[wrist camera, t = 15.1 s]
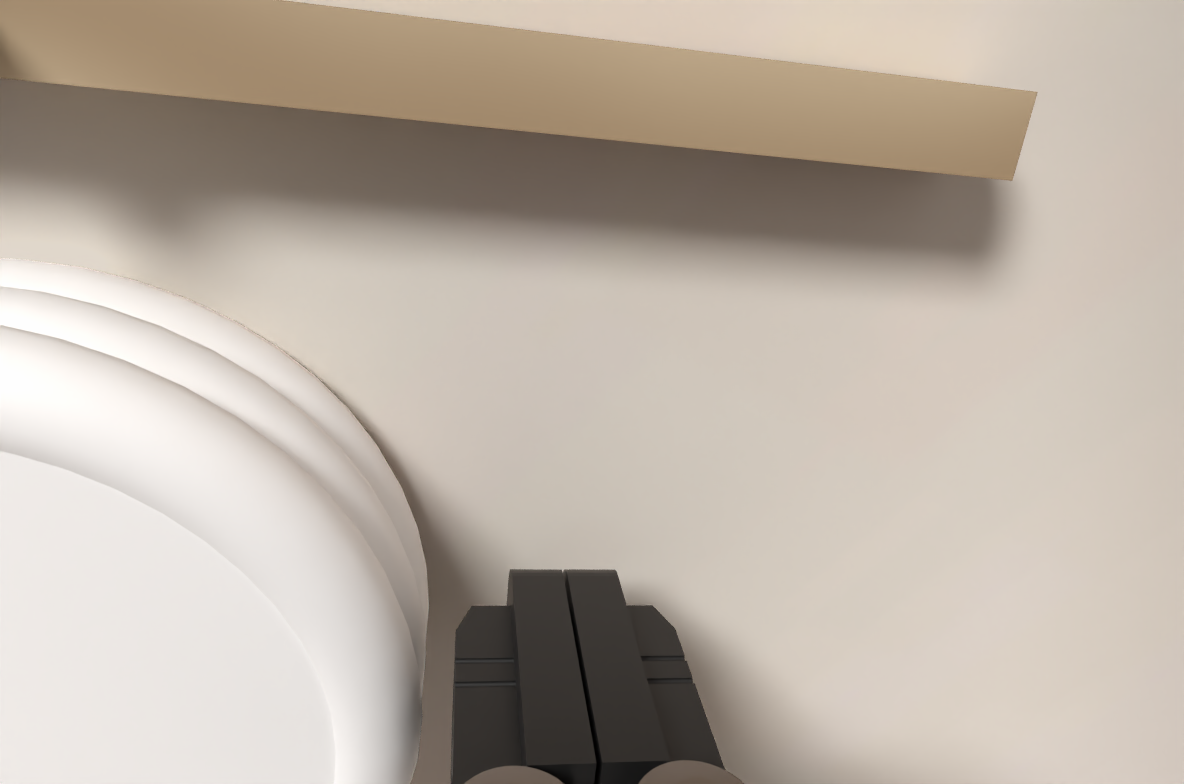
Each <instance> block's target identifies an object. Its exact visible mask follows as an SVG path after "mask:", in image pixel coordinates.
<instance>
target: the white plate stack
mask: <svg viewBox="0 0 1184 784" xmlns="http://www.w3.org/2000/svg"><path fill="white" fill-rule="evenodd" d="M428 613H429V597H428V580H427V567H426V562H425V558H424V553H423V549H422V544H421V540H420V535H419V531H418V527H417V525H416V522H415V519H414V517H413V514H412V512H411V509H410V507H409V504H408V502H407V499H406V497H405V494H404V492H403V489H402V487H401V486H400V484H399V482H398V480H397V479H396V477H395V475H394V473H393V472H392V470H391V468H390V467H389V465H388V463H387V461H386V460H385V458H384V456H383V455H382V453H381V451H380V450H379V448H378V446H377V444H376V443H375V442H374V441H373V439H372V438H371V437H370V435H369V434H368V433H367V432H366V430H365V429H364V428H363V426H362V425H361V424H360V423H359V421H358V420H357V419H356V417H355V416H354V415H353V414H352V412H351V411H350V410H349V409H348V408H347V407H346V406H345V405H344V404H343V403H342V402H341V401H340V400H339V399H338V398H337V397H336V396H335V395H334V394H333V393H332V392H331V391H330V390H329V389H328V388H327V387H326V386H325V385H324V384H323V383H322V382H321V381H320V380H319V379H318V378H317V377H316V376H315V375H313V374H312V373H311V372H309V371H308V370H307V369H306V368H304V367H303V366H302V365H300V364H299V363H298V362H297V361H295V360H294V359H293V358H292V357H290V356H289V355H288V354H286V353H285V352H284V351H283V350H281V349H280V348H279V347H277V346H275V345H274V344H272V343H271V342H269V341H267V340H266V339H264V338H262V337H261V336H259V335H257V334H256V333H254V332H253V331H251V330H249V329H248V328H246V327H244V326H243V325H241V324H239V323H238V322H236V321H234V320H232V319H230V318H228V317H226V316H224V315H222V314H219V313H217V312H215V311H213V310H211V309H209V308H207V307H205V306H203V305H200V304H198V303H196V302H194V301H192V300H190V299H188V298H185V297H182V296H179V295H176V294H174V293H171V292H168V291H165V290H163V289H160V288H157V287H154V286H151V285H149V284H146V283H143V282H140V281H138V280H134V279H129V278H125V277H121V276H117V275H113V274H109V273H105V272H101V271H97V270H93V269H89V268H85V267H78V266H71V265H63V264H56V263H48V262H41V261H33V260H24V259H10V258H0V784H411V781H412V778H413V774H414V771H415V767H416V764H417V760H418V754H419V744H420V735H421V725H422V704H421V698H422V692H423V682H424V672H425V662H426V647H425V643H426V633H427V623H428Z"/></svg>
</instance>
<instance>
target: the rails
mask: <svg viewBox="0 0 1184 784" xmlns="http://www.w3.org/2000/svg"><path fill="white" fill-rule="evenodd" d="M0 78H3V79H13V80H23V81H33V82H43V83H53V84H63V85H72V86H82V87H92V88H102V89H112V90H122V91H132V92H142V93H151V94H161V95H171V96H181V97H191V98H201V99H211V100H221V101H230V102H240V103H250V104H260V105H270V106H280V107H290V108H300V109H309V110H319V111H329V112H339V113H349V114H359V115H369V116H379V117H388V118H398V119H408V120H418V121H428V122H438V123H448V124H458V125H467V126H477V127H487V128H497V129H507V130H517V131H527V132H537V133H546V134H556V135H566V136H576V137H586V138H596V139H606V140H616V141H625V142H635V143H645V144H655V145H665V146H675V147H685V148H695V149H704V150H714V151H724V152H734V153H744V154H754V155H764V156H774V157H783V158H793V159H803V160H813V161H823V162H833V163H843V164H853V165H862V166H872V167H882V168H892V169H902V170H912V171H922V172H931V173H941V174H951V175H961V176H971V177H981V178H991V179H1001V180H1010V181H1012V180H1013V176H1014V173H1015V169H1016V166H1017V162H1018V159H1019V155H1020V152H1021V148H1022V145H1023V141H1024V138H1025V134H1026V131H1027V127H1028V124H1029V120H1030V117H1031V113H1032V110H1033V106H1034V103H1035V99H1036V96H1037V92H1033V91H1025V90H1016V89H1008V88H1000V87H992V86H983V85H975V84H967V83H959V82H950V81H942V80H934V79H926V78H917V77H909V76H901V75H893V74H884V73H876V72H868V71H860V70H852V69H843V68H835V67H827V66H819V65H810V64H802V63H794V62H786V61H777V60H769V59H761V58H753V57H744V56H736V55H728V54H720V53H711V52H703V51H695V50H687V49H678V48H670V47H662V46H654V45H646V44H637V43H629V42H621V41H613V40H604V39H596V38H588V37H580V36H571V35H563V34H555V33H547V32H538V31H530V30H522V29H514V28H505V27H497V26H489V25H481V24H473V23H464V22H456V21H448V20H440V19H431V18H423V17H415V16H407V15H398V14H390V13H382V12H374V11H365V10H357V9H349V8H341V7H332V6H324V5H316V4H308V3H299V2H291V1H283V0H0Z"/></svg>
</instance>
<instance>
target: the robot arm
mask: <svg viewBox="0 0 1184 784" xmlns="http://www.w3.org/2000/svg"><path fill="white" fill-rule="evenodd" d="M451 784H744V783H743V782H742V781H741V780H740V779H738V778H737V777H735V776H734V775H733V774H731V773H729V772H727V771H726V770H725V768H724V766H723V763H722V760H721V757H720V754H719V752H718V749H717V746H716V743H715V740H714V737H713V735H712V732H711V729H710V726H709V723H708V721H707V718H706V715H705V712H704V709H703V706H702V704H701V701H700V698H699V695H698V692H697V689H696V687H695V684H693V683H692V675H691V672H690V670H689V667H688V664H687V661H685V660H684V653H683V650H682V647H681V644H680V641H679V639H678V636H677V633H676V630H675V628H674V627H673V626H672V625H671V624H670V623H669V622H668V621H667V620H666V619H665V618H664V617H663V616H662V615H661V614H660V613H659V612H658V611H657V610H656V609H655V608H654V607H653V606H626V603H625V599H624V596H623V592H622V588H621V585H620V581H619V578H618V575H617V572H616V571H615V570H564V571H563V572H562V570H515V569H511V570H510V572H509V580H508V594H507V606H472V607H471V608H470V610H469V611H468V613H467V614H466V616H465V617H464V619H463V620H462V622H461V624H460V625H459V627H458V628H457V630H456V642H455V665H454V689H453V712H452V746H451Z"/></svg>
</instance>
